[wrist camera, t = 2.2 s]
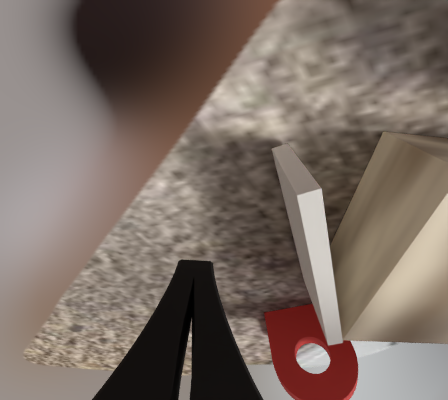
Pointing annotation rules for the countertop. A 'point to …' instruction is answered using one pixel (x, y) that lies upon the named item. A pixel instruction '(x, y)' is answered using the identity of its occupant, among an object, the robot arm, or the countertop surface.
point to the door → (310, 237)
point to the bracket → (287, 349)
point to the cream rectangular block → (396, 245)
